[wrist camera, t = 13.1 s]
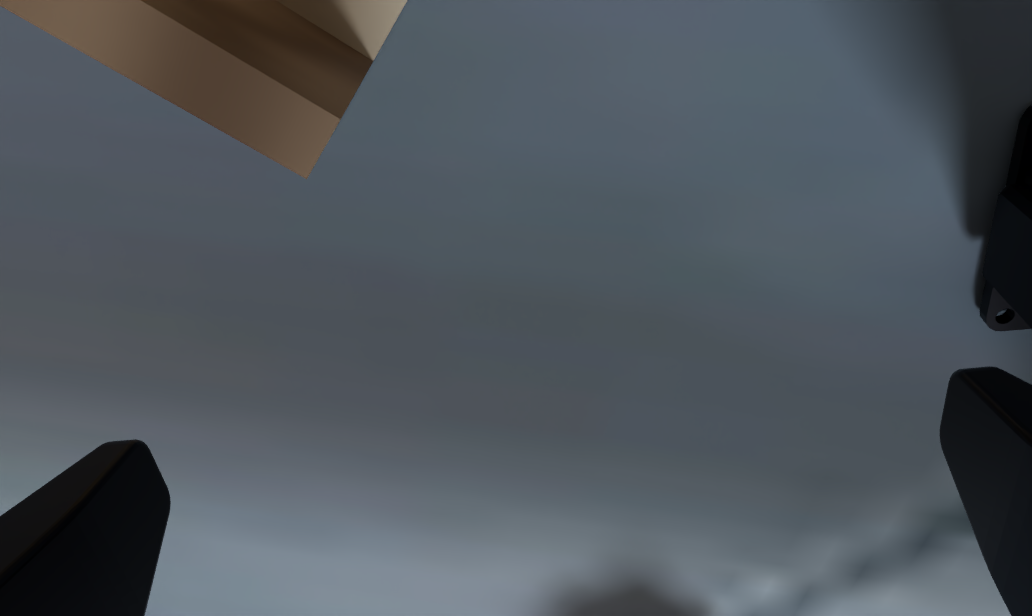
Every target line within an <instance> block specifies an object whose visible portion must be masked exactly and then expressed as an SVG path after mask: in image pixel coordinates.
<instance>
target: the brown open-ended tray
mask: <svg viewBox="0 0 1032 616" xmlns="http://www.w3.org/2000/svg"><path fill="white" fill-rule="evenodd" d="M406 2H407V0H0V6H2V7H3V8H5V9H7V10H9V11H10V12H12V13H14V14H16V15H17V16H19V17H21V18H23V19H25V20H26V21H28V22H30V23H32V24H33V25H35V26H37V27H39V28H40V29H42V30H44V31H46V32H48V33H49V34H51V35H53V36H55V37H56V38H58V39H60V40H62V41H63V42H65V43H67V44H69V45H71V46H72V47H74V48H76V49H78V50H79V51H81V52H83V53H85V54H86V55H88V56H90V57H92V58H93V59H95V60H97V61H99V62H101V63H102V64H104V65H106V66H108V67H109V68H111V69H113V70H115V71H116V72H118V73H120V74H122V75H124V76H125V77H127V78H129V79H131V80H132V81H134V82H136V83H138V84H139V85H141V86H143V87H145V88H146V89H148V90H150V91H152V92H154V93H155V94H157V95H159V96H161V97H162V98H164V99H166V100H168V101H169V102H171V103H173V104H175V105H177V106H178V107H180V108H182V109H184V110H185V111H187V112H189V113H191V114H192V115H194V116H196V117H198V118H200V119H201V120H203V121H205V122H207V123H208V124H210V125H212V126H214V127H215V128H217V129H219V130H221V131H222V132H224V133H226V134H228V135H230V136H231V137H233V138H235V139H237V140H238V141H240V142H242V143H244V144H245V145H247V146H249V147H251V148H253V149H254V150H256V151H258V152H260V153H261V154H263V155H265V156H267V157H268V158H270V159H272V160H274V161H275V162H277V163H279V164H281V165H283V166H284V167H286V168H288V169H290V170H291V171H293V172H295V173H297V174H298V175H300V176H302V177H304V178H306V179H307V178H308V176H309V174H310V172H311V171H312V169H313V167H314V165H315V164H316V162H317V160H318V158H319V156H320V155H321V153H322V151H323V149H324V148H325V146H326V144H327V143H328V141H329V139H330V137H331V136H332V134H333V132H334V130H335V128H336V127H337V125H338V123H339V121H340V120H341V118H342V116H343V114H344V112H345V111H346V109H347V107H348V105H349V103H350V102H351V100H352V98H353V96H354V95H355V93H356V91H357V89H358V87H359V86H360V84H361V82H362V80H363V78H364V77H365V75H366V73H367V71H368V70H369V68H370V66H371V64H372V62H373V61H374V59H375V57H376V55H377V54H378V52H379V50H380V48H381V46H382V45H383V43H384V41H385V39H386V37H387V36H388V34H389V32H390V30H391V29H392V27H393V25H394V23H395V21H396V20H397V18H398V16H399V14H400V13H401V11H402V9H403V7H404V5H405V4H406Z"/></svg>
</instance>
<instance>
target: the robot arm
mask: <svg viewBox="0 0 1032 616" xmlns="http://www.w3.org/2000/svg"><path fill="white" fill-rule="evenodd" d="M983 276H984V278H985V279H986V283H985V288H984V293H983V297H982V302H981V307H980V316H981V318H982V319H983V321H984V322H985V323H986V324H987V325H988V327H989V328H991V329H993V330H995V331H1009V330H1021V329H1032V106H1030V107H1029V108H1028V109H1027V110H1026V111H1025V112H1024V113H1023V115H1022V117H1021V119H1020V122H1019V125H1018V130H1017V135H1016V140H1015V145H1014V149H1013V154H1012V159H1011V164H1010V168H1009V173H1008V178H1007V183H1006V186H1005V187H1004V188H1003V190H1002V191H1001V192H1000V193H999V195H998V200H997V204H996V209H995V214H994V219H993V224H992V229H991V234H990V239H989V243H988V248H987V253H986V258H985V263H984V268H983ZM1006 308H1007V310H1006V312H1005V313H1003V314H1002V315H999V316H996V315H997V313H998V312H1000V311H1001V310H1003V309H1006ZM940 442H941V447H942V450H943V453H944V456H945V458H946V461H947V464H948V466H949V469H950V471H951V474H952V477H953V479H954V482H955V484H956V487H957V490H958V492H959V495H960V497H961V500H962V503H963V505H964V508H965V510H966V513H967V516H968V518H969V521H970V524H971V526H972V529H973V531H974V534H975V537H976V539H977V542H978V544H979V547H980V550H981V552H982V555H983V557H984V560H985V562H986V564H987V567H988V569H989V571H990V574H991V576H992V578H993V580H994V582H995V584H996V586H997V588H998V590H999V592H1000V594H1001V596H1002V598H1003V600H1004V602H1005V604H1006V606H1007V608H1008V610H1009V612H1010V614H1011V616H1032V385H1031V384H1029V383H1027V382H1025V381H1023V380H1021V379H1019V378H1017V377H1015V376H1013V375H1012V374H1010V373H1008V372H1006V371H1004V370H1002V369H999V368H997V367H978V368H967V369H959V370H957V371H955V372H954V373H953V374H952V376H951V377H950V380H949V384H948V389H947V394H946V399H945V404H944V409H943V414H942V420H941V425H940ZM169 513H170V494H169V491H168V488H167V486H166V483H165V481H164V479H163V477H162V475H161V473H160V471H159V469H158V466H157V464H156V462H155V460H154V458H153V456H152V454H151V451H150V449H149V448H148V446H147V445H146V444H145V443H144V442H142V441H140V440H124V441H112V442H107V443H104V444H102V445H101V446H99V447H98V448H96V449H95V450H93V451H92V452H91V453H89V454H88V455H86V456H85V457H83V458H82V459H81V460H79V461H78V462H76V463H75V464H74V465H72V466H71V467H69V468H68V469H66V470H65V471H64V472H62V473H61V474H59V475H58V476H57V477H55V478H54V479H52V480H51V481H49V482H48V483H47V484H45V485H44V486H42V487H41V488H40V489H38V490H37V491H35V492H34V493H32V494H31V495H30V496H28V497H27V498H25V499H24V500H23V501H21V502H20V503H18V504H17V505H15V506H14V507H13V508H11V509H10V510H8V511H7V512H6V513H4V514H3V515H1V516H0V616H144V615H145V612H146V608H147V603H148V599H149V595H150V591H151V587H152V583H153V579H154V575H155V571H156V566H157V562H158V558H159V554H160V550H161V546H162V542H163V538H164V533H165V529H166V525H167V521H168V517H169Z"/></svg>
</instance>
